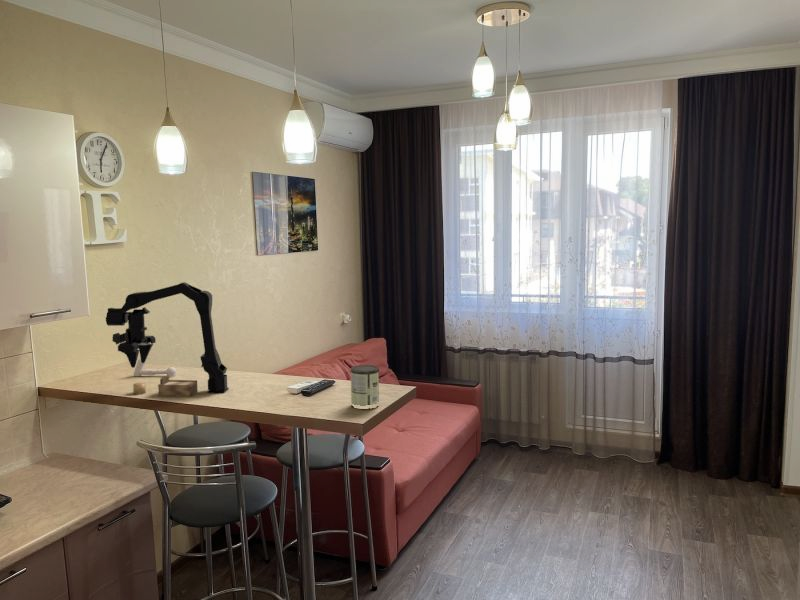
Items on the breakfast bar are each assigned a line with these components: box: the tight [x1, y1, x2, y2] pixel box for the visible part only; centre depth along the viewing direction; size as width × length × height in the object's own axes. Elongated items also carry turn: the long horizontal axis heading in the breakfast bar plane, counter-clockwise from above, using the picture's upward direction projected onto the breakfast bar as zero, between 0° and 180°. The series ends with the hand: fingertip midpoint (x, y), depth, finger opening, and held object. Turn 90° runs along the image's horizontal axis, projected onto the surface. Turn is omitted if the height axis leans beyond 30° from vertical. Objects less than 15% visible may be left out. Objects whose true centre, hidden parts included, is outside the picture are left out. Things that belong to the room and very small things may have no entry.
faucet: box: [133, 356, 177, 378], centre depth 262 cm, size 4×18×10 cm, turn 90°
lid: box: [160, 375, 196, 387], centre depth 234 cm, size 12×6×3 cm, turn 87°
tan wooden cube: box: [132, 382, 147, 395], centre depth 235 cm, size 4×4×4 cm
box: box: [157, 379, 198, 398], centre depth 234 cm, size 12×8×4 cm, turn 87°
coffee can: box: [350, 364, 380, 406], centre depth 219 cm, size 10×10×14 cm
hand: (138, 365), depth 234 cm, fingers open, 8 cm apart
